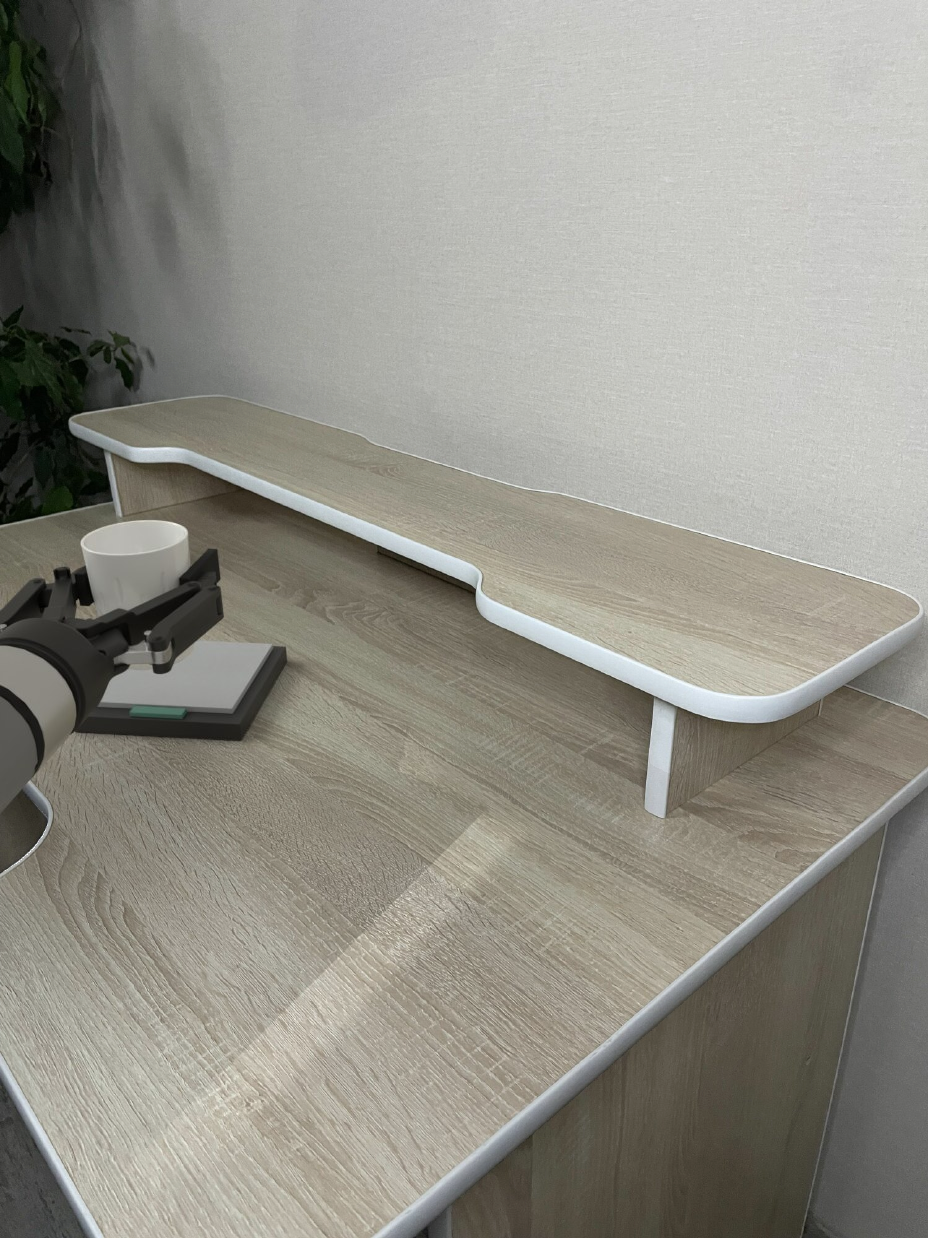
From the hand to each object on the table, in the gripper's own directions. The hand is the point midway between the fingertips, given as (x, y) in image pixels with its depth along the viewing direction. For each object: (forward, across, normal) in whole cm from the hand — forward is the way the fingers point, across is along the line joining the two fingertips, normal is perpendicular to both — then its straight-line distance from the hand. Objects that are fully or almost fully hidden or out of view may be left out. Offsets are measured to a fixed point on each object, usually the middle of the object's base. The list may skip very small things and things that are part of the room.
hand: (165, 562), depth 78 cm
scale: (+9, -4, -18) cm, 20 cm away
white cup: (-5, 0, -6) cm, 8 cm away
